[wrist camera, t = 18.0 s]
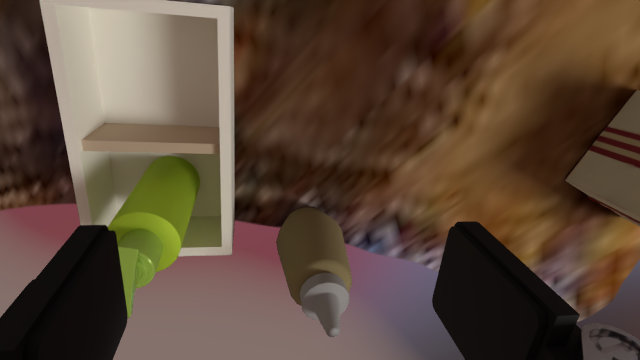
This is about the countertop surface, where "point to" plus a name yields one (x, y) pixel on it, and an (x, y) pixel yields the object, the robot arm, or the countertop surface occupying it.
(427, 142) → the countertop surface
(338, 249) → the squeeze bottle
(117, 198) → the caddy
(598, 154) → the gift box
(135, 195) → the soap dispenser
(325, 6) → the countertop surface
